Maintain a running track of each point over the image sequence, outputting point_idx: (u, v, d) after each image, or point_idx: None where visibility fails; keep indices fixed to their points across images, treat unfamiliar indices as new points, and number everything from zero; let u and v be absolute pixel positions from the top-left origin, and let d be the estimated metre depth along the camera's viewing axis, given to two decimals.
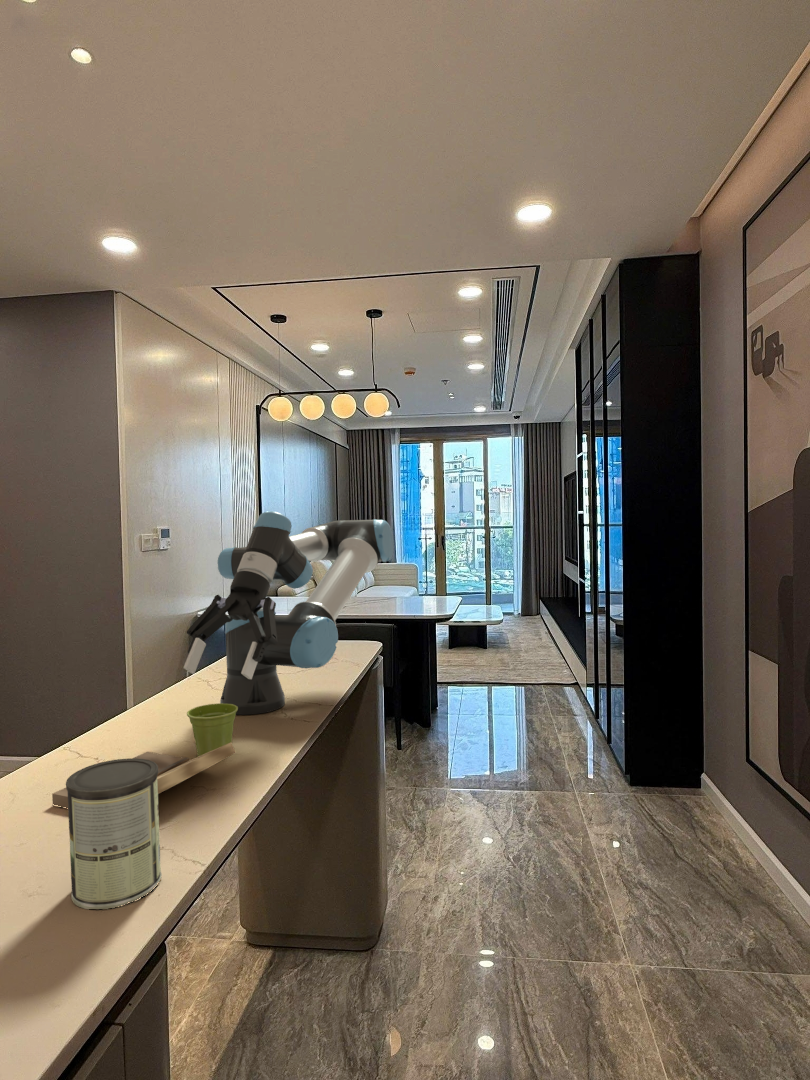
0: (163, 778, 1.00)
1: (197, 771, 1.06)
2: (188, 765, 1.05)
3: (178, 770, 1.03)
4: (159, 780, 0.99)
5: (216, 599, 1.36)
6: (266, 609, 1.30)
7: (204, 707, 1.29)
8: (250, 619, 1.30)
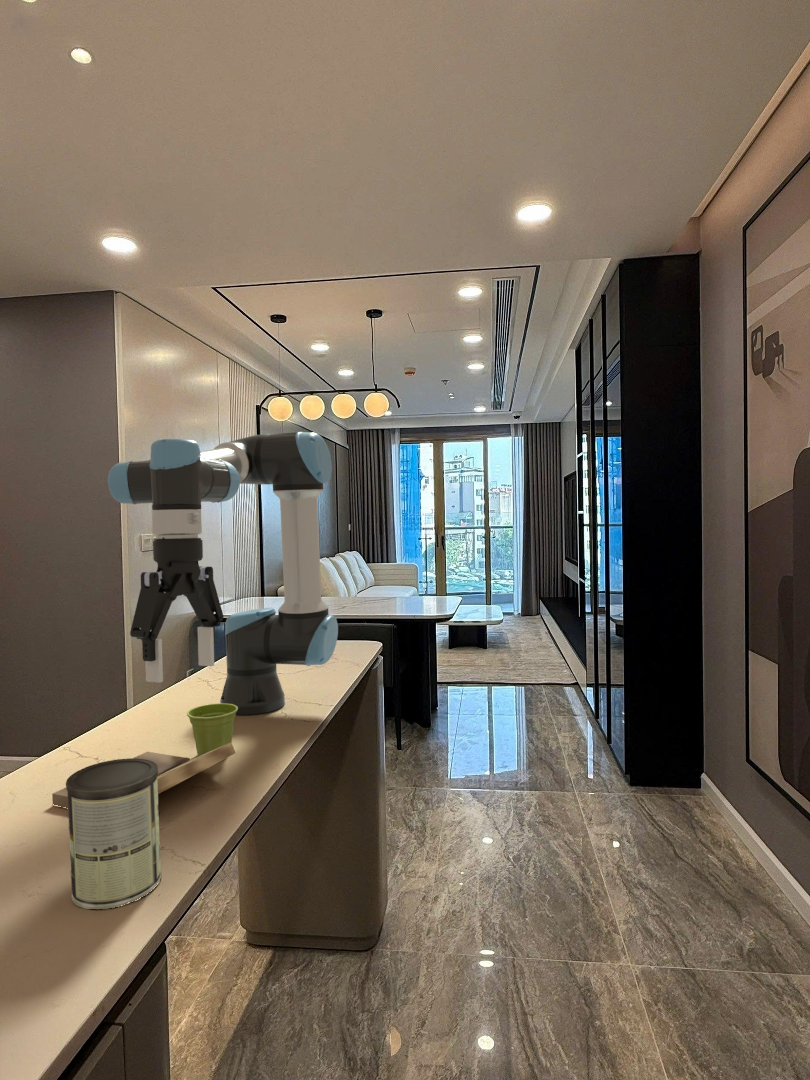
0: (163, 778, 1.00)
1: (197, 771, 1.06)
2: (188, 765, 1.05)
3: (178, 770, 1.03)
4: (159, 780, 0.99)
5: (156, 579, 1.00)
6: (212, 583, 1.11)
7: (204, 707, 1.29)
8: (200, 598, 1.08)
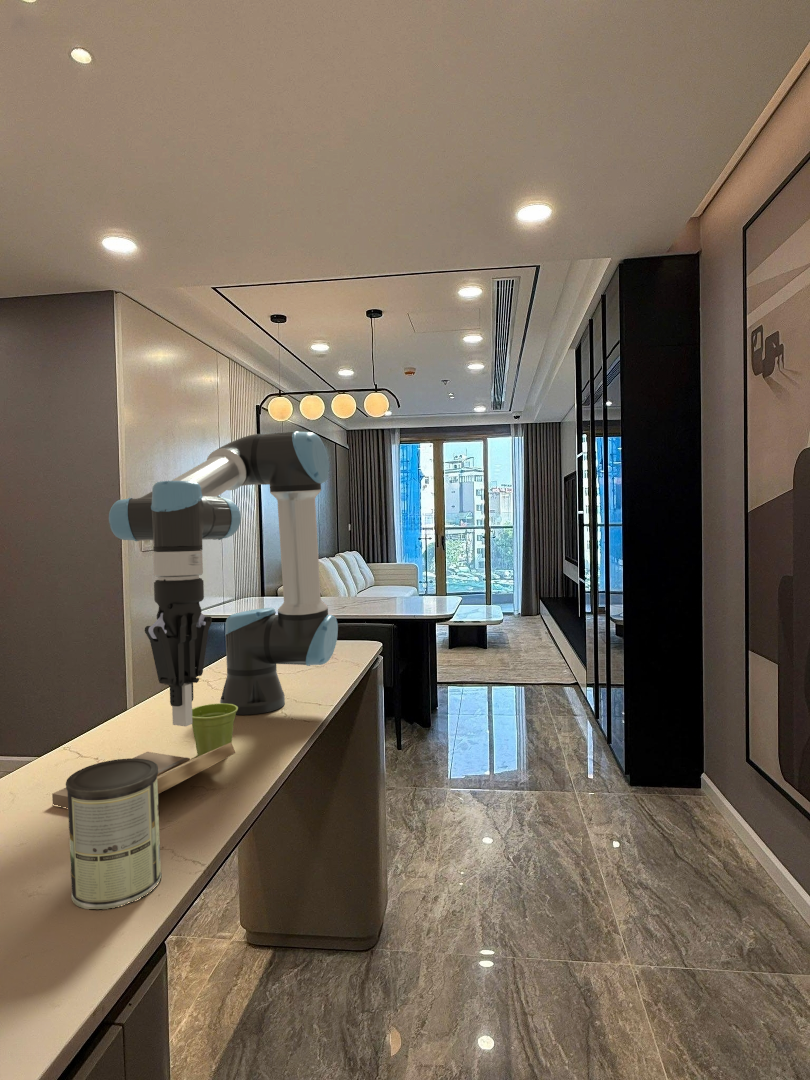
0: (163, 778, 1.00)
1: (197, 771, 1.06)
2: (188, 765, 1.05)
3: (178, 770, 1.03)
4: (159, 780, 0.99)
5: (161, 631, 1.00)
6: (206, 633, 1.09)
7: (204, 707, 1.29)
8: (190, 645, 1.06)
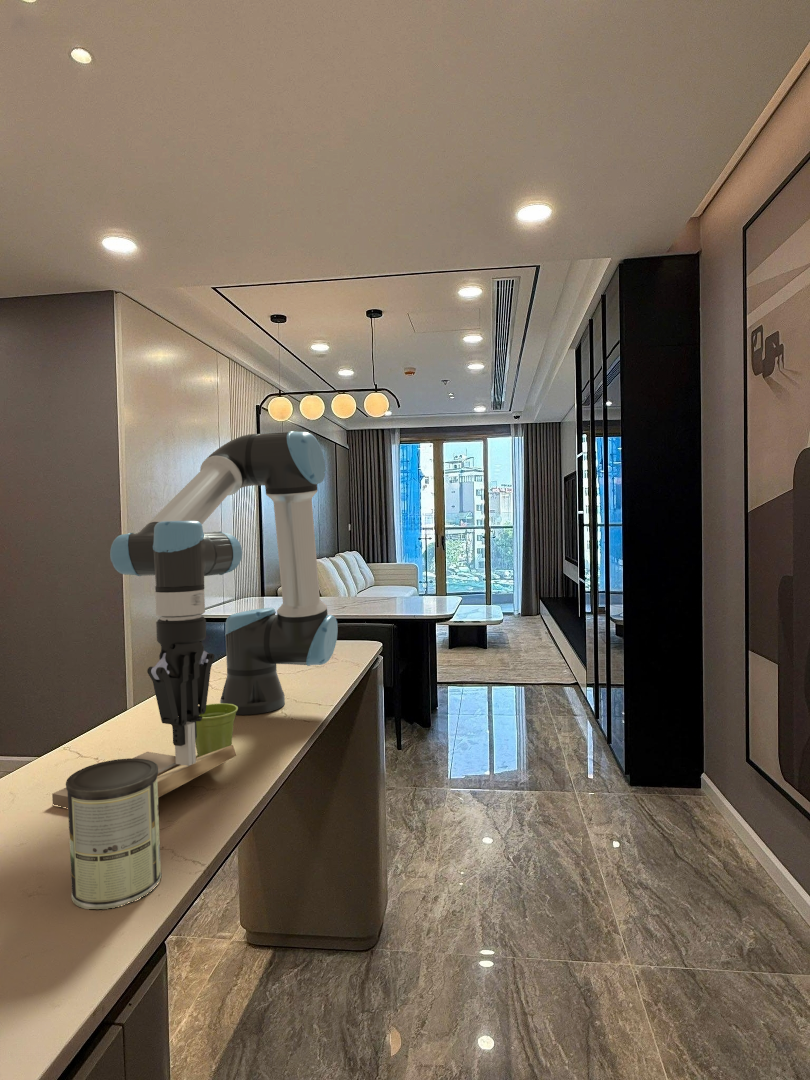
0: (164, 781, 1.00)
1: (198, 774, 1.06)
2: (189, 768, 1.05)
3: (179, 773, 1.03)
4: (160, 783, 0.99)
5: (164, 672, 1.00)
6: (208, 670, 1.10)
7: None
8: (193, 683, 1.06)
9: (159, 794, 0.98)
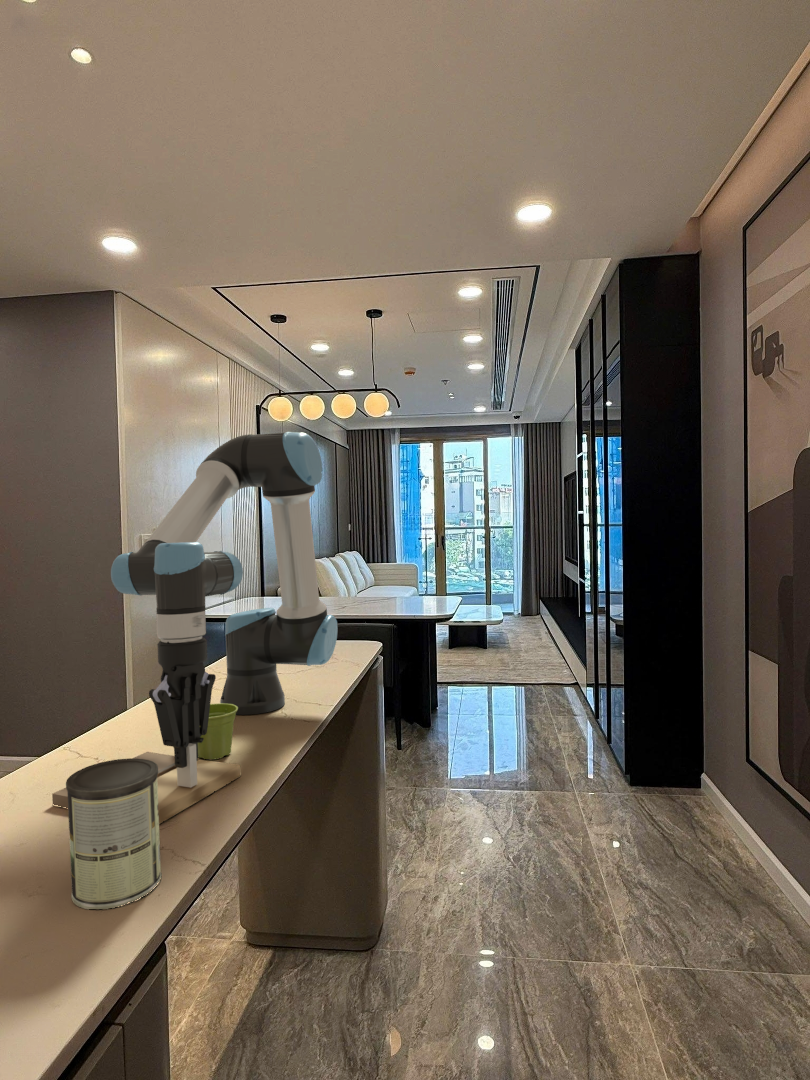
0: (172, 804, 0.99)
1: (203, 796, 1.06)
2: (197, 790, 1.04)
3: (187, 795, 1.02)
4: (168, 806, 0.99)
5: (166, 695, 1.00)
6: (209, 691, 1.10)
7: None
8: (195, 705, 1.06)
9: (164, 818, 0.98)
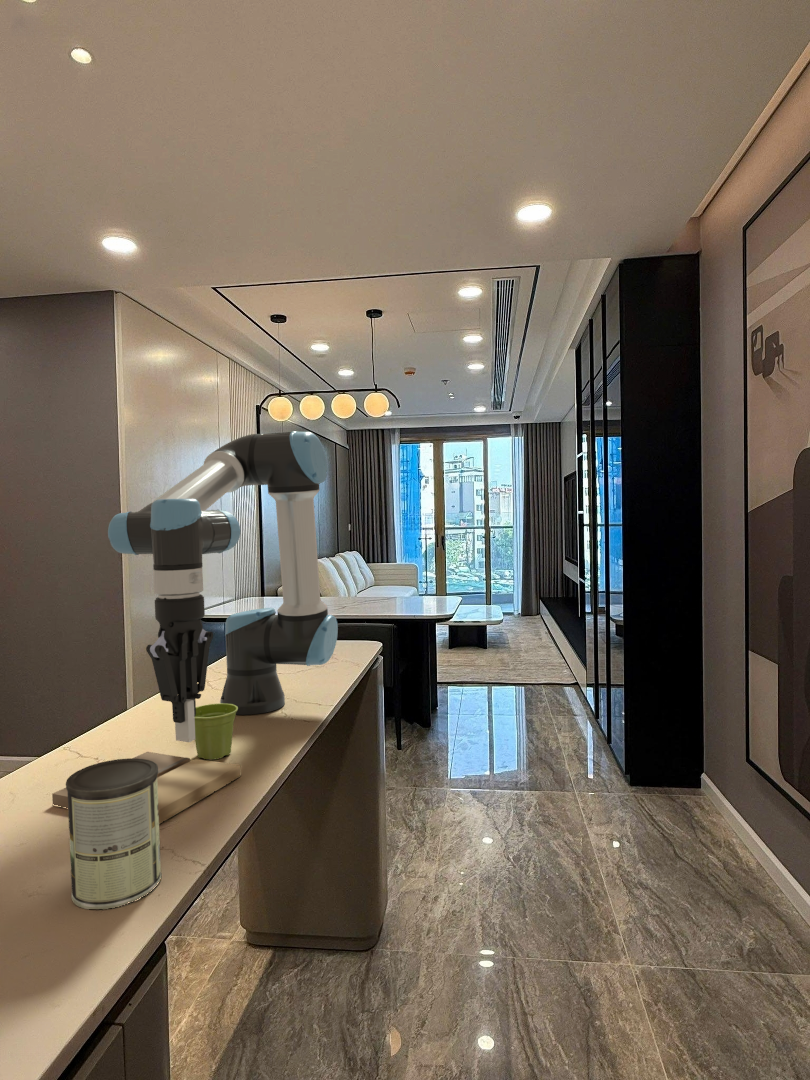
0: (172, 804, 0.99)
1: (203, 796, 1.06)
2: (197, 790, 1.04)
3: (187, 795, 1.02)
4: (168, 806, 0.99)
5: (163, 650, 1.01)
6: (207, 648, 1.10)
7: (204, 707, 1.29)
8: (192, 661, 1.06)
9: (164, 818, 0.98)
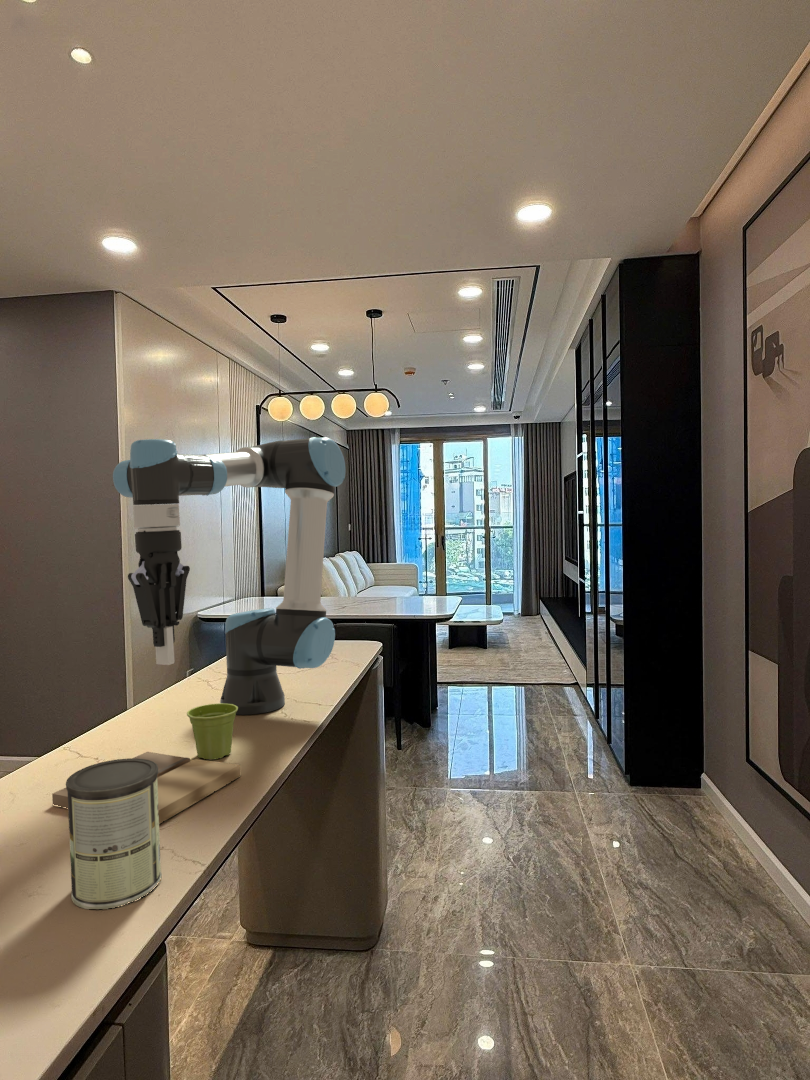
0: (172, 804, 0.99)
1: (203, 796, 1.06)
2: (197, 790, 1.04)
3: (187, 795, 1.02)
4: (168, 806, 0.99)
5: (143, 578, 1.09)
6: (184, 581, 1.19)
7: (204, 707, 1.29)
8: (170, 591, 1.16)
9: (164, 818, 0.98)
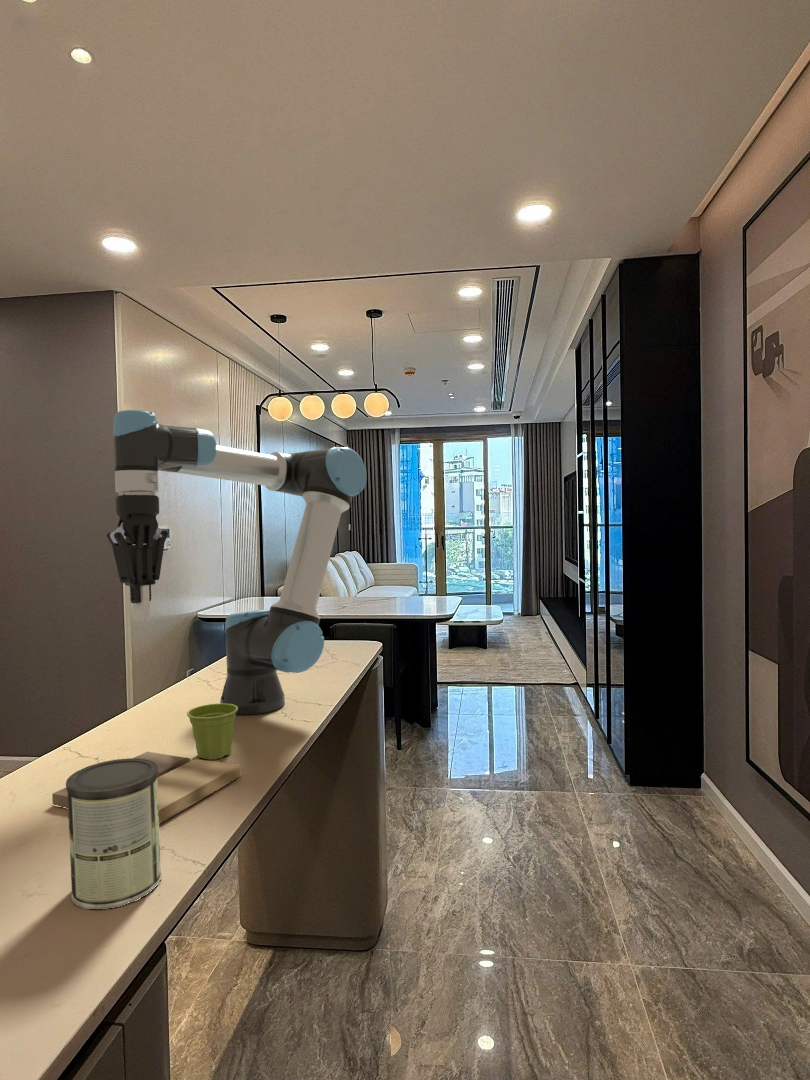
0: (172, 804, 0.99)
1: (203, 796, 1.06)
2: (197, 790, 1.04)
3: (187, 795, 1.02)
4: (168, 806, 0.99)
5: (121, 537, 1.18)
6: (162, 544, 1.27)
7: (204, 707, 1.29)
8: (148, 552, 1.24)
9: (164, 818, 0.98)
